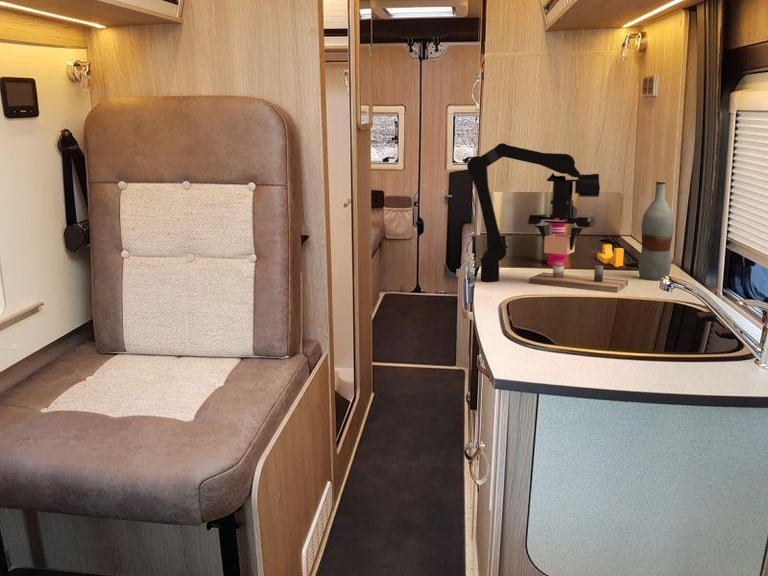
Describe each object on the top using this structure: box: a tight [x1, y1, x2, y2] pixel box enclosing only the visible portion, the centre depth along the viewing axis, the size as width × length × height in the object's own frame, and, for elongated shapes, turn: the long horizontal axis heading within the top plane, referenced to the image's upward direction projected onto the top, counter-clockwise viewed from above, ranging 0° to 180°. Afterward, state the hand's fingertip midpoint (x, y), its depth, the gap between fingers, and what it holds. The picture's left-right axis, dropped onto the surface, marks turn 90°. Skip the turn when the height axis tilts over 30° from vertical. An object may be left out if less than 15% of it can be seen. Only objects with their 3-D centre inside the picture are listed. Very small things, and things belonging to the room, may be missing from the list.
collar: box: [543, 233, 576, 256], centre depth 188 cm, size 7×7×5 cm
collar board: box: [528, 262, 629, 293], centre depth 186 cm, size 12×26×6 cm, turn 56°
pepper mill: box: [545, 218, 568, 267], centre depth 218 cm, size 7×7×20 cm
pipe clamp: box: [596, 243, 625, 268], centre depth 221 cm, size 12×4×6 cm, turn 3°
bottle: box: [637, 180, 675, 281], centre depth 192 cm, size 9×9×30 cm
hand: (559, 248), depth 188 cm, fingers closed on collar, 7 cm apart
